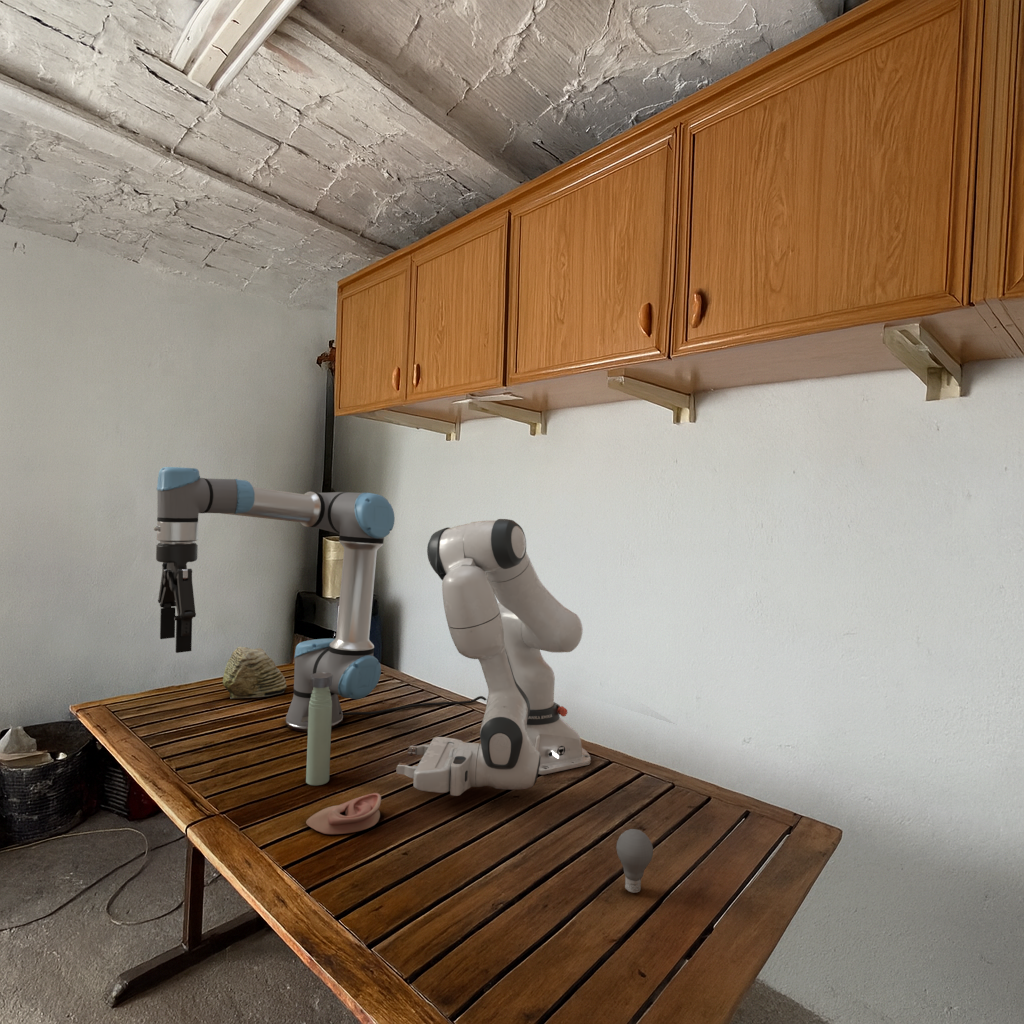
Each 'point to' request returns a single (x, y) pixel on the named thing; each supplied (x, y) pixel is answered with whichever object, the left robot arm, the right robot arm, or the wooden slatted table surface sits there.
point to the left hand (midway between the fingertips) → (175, 644)
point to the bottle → (319, 737)
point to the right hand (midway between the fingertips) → (403, 759)
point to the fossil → (252, 674)
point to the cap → (321, 680)
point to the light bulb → (634, 857)
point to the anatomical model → (347, 816)
